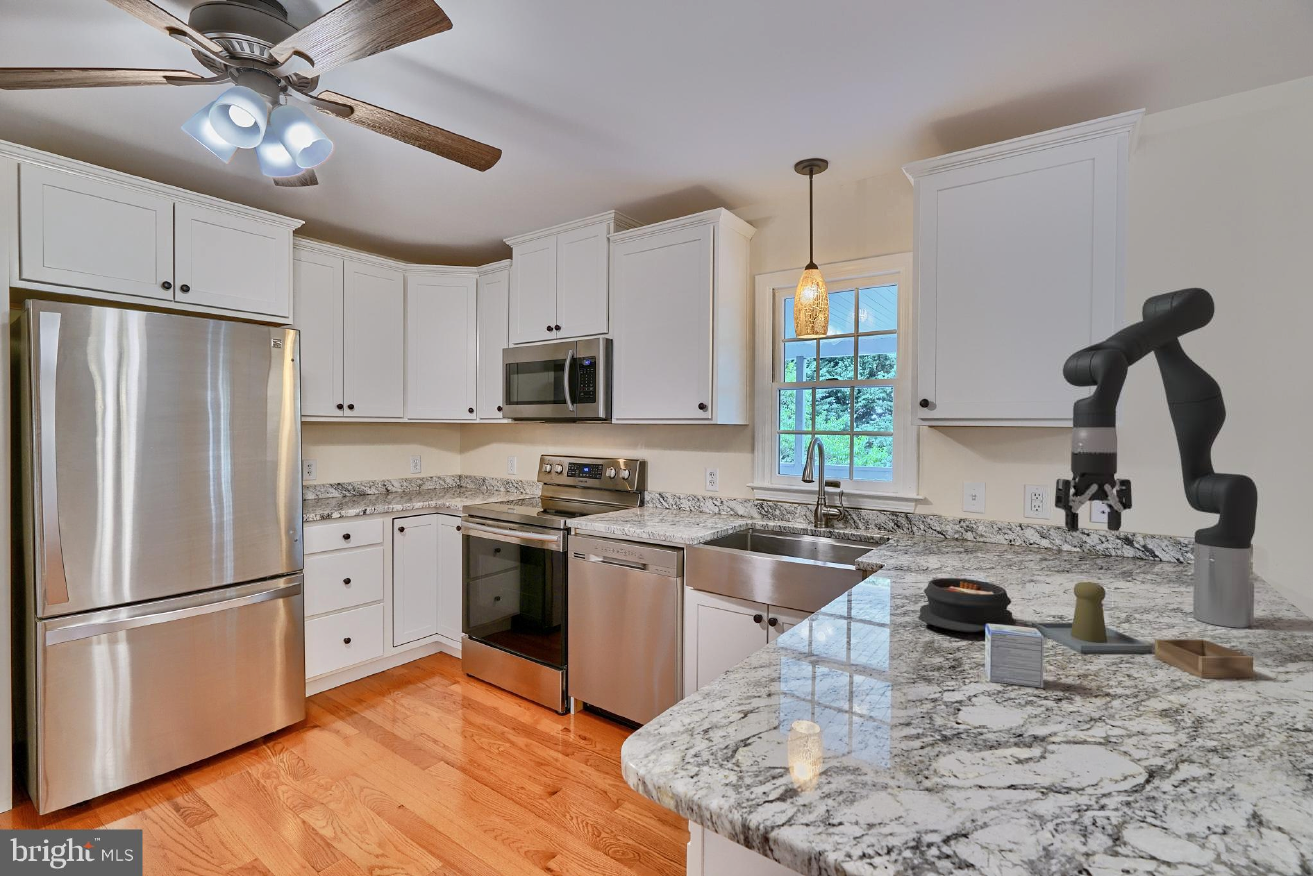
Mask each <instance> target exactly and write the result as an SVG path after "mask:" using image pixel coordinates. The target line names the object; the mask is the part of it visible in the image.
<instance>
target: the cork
mask: <svg viewBox="0 0 1313 876" xmlns="http://www.w3.org/2000/svg"><path fill="white" fill-rule="evenodd" d="M1073 594H1074V596H1075V597H1076V601H1075V602H1076V604H1075V607H1074V614H1073V619H1072V622H1073V624H1072V630H1071V636H1072V637H1074V638H1076V639H1079V640H1083V641H1087V642H1094V643H1105V642H1107V636H1106V629H1105V626H1106V622H1105V615H1104V610H1103V609H1104V608H1103V601H1104V600H1105V597H1106V590H1105V588H1104V587H1103V586H1102V585H1101V584H1098V583H1095V582H1090V581H1080V582H1076V584H1074V587H1073Z"/></svg>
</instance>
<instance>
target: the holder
mask: <svg viewBox="0 0 1313 876" xmlns="http://www.w3.org/2000/svg"><path fill="white" fill-rule="evenodd" d="M1154 659H1156V660H1159V661H1161V662H1164V663H1166V664H1168V665H1171V666H1172V667H1174V668H1177V669H1179V670H1182V671H1183V672H1187V673H1189V674H1191V675H1193V676H1196V677H1198V678H1200V679H1247V678H1248V677H1249V678H1248V679H1252V678H1254V657H1253V656H1251V655H1247V654H1244V653H1242V652H1239V651H1237V650H1233V649H1231V648H1228V647H1225V646H1223V645H1220V644H1217V643H1214V642H1211V641H1208V640H1205V639H1202V638H1199V639H1198V638H1184V639H1183V638H1180V639H1179V638H1177V639H1175V638H1169V639H1167V638H1164V639H1163V638H1157V639H1154ZM1245 677H1246V678H1245Z"/></svg>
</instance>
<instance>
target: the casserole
mask: <svg viewBox="0 0 1313 876" xmlns="http://www.w3.org/2000/svg"><path fill="white" fill-rule="evenodd" d="M923 593H924V594H925V596H926V597H927V604H923V605H922V606H921V607H920V608H919V615H918V620H920V621H921V622H923V623H926V624H928V625H931V626H934V627H938V628H942V629H946V630H950V631H955V632H956V631H957V632H963V633H978V632H980V631H984V632H985V629H986V624H998V625H1009V626H1015V625H1016V620H1015V619H1014V617H1013V612H1012V611H1010V610H1009V609H1008V606H1010V604H1012V600H1011V598H1010V597H1009V596H1008V593H1007V591H1006V589H1005V588H1003V587H1002V586H999V585H997V584H994V583H991V582H986V581H982V580H975V579H968V578H959V577H955V578H953V577H945V578H944V577H943V578H934V579H931V580H930V581H929V582H928V583H927V586H926V587H925V589H924V590H923ZM980 633H981V632H980Z"/></svg>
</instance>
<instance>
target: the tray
mask: <svg viewBox="0 0 1313 876" xmlns="http://www.w3.org/2000/svg"><path fill="white" fill-rule="evenodd" d="M1072 624H1073V621H1071V622H1070V621H1069V622H1064V621H1063V622H1062V621H1061V622H1059V621H1058V622H1055V621H1054V622H1051V621H1049V622H1048V621H1047V622H1046V621H1043V622H1042V621H1041V622H1039V621H1038V622H1037V621H1036V622H1031V628H1036V629H1037V630H1038V631H1039V632H1040V633H1041V634H1042V636H1043V637H1046V638H1048V639H1050V640H1052V641H1054V642H1057V643H1058V644H1061V645H1062V646H1065V647H1066V648H1068V649H1070V650H1072V651H1075V652H1077V653H1079V654H1089V655H1090V654H1091V655H1092V654H1096V655H1097V654H1153V645H1152V644H1149V643H1147V642H1145V641H1143V640H1140V639H1137V638H1136V637H1132V636H1130V635H1127V634H1124V633H1122V632H1120V631H1118V630H1115V629H1113V628H1110V627H1108V626H1106V625H1105V629H1106V636H1107V642H1105V643H1094V642H1087V641H1083V640H1079V639H1076V638H1074V637H1072V636H1071V630H1072Z"/></svg>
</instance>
